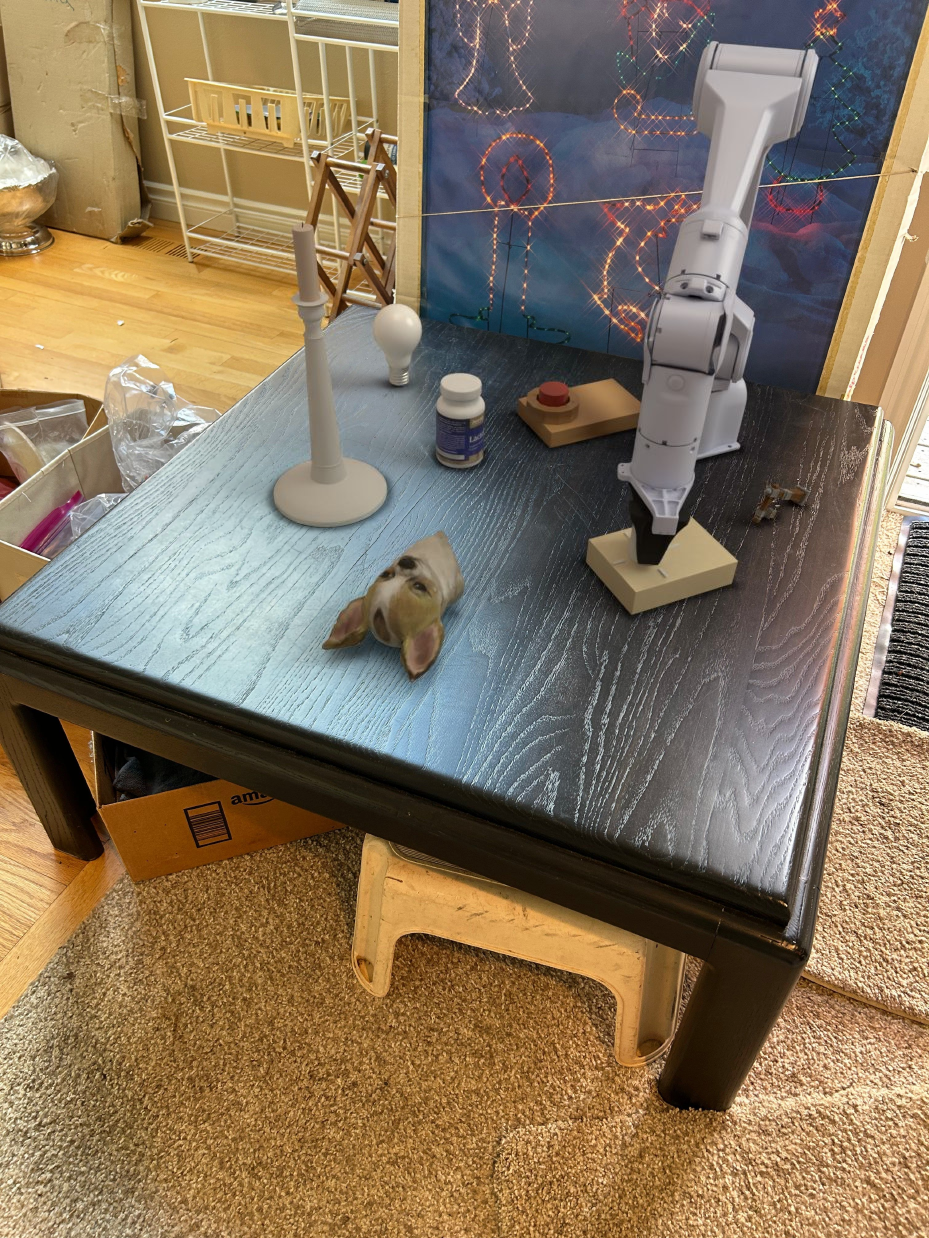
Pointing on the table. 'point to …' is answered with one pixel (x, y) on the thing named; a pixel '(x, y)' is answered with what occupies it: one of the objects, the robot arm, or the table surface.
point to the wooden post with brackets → (774, 491)
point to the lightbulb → (397, 339)
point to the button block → (581, 413)
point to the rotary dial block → (661, 568)
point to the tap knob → (634, 546)
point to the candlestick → (323, 423)
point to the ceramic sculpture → (406, 605)
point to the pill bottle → (460, 421)
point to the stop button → (553, 394)
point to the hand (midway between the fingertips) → (646, 549)
